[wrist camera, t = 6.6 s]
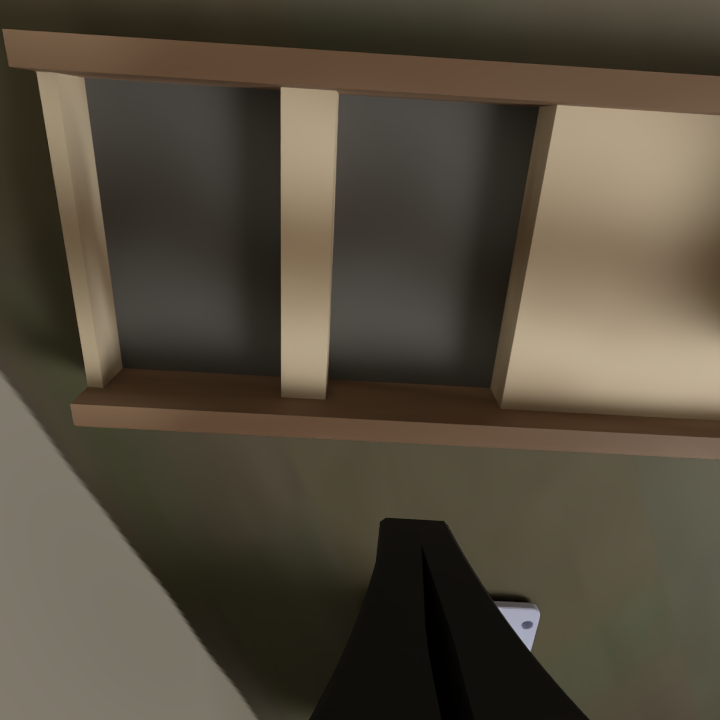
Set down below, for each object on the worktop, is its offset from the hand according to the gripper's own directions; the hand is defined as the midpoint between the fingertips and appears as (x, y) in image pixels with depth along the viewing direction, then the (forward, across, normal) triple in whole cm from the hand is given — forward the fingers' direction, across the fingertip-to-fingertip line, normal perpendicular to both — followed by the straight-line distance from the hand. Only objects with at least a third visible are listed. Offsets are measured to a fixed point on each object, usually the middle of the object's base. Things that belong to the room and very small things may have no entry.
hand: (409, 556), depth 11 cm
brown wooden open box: (+9, -5, -4) cm, 11 cm away
